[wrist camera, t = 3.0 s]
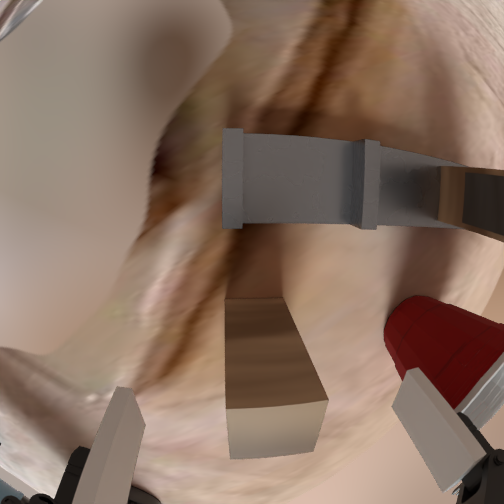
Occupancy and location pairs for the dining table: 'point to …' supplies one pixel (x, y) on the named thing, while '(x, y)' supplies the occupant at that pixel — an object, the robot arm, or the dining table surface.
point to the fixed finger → (473, 200)
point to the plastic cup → (450, 353)
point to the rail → (327, 182)
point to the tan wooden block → (269, 382)
